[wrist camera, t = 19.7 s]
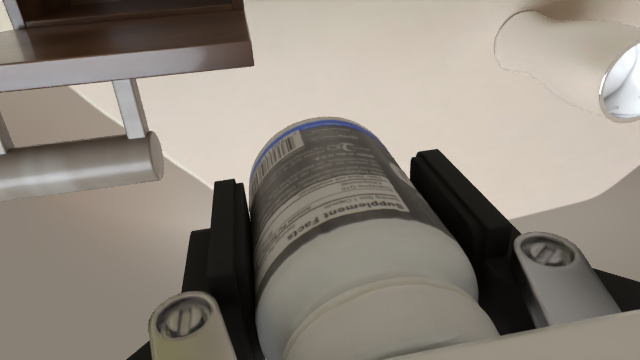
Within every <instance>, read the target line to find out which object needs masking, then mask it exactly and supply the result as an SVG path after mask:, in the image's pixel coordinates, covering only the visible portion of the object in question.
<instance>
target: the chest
mask: <svg viewBox="0 0 640 360" xmlns="http://www.w3.org/2000/svg"><path fill="white" fill-rule="evenodd" d="M3 3H4V5H5V8H6V10H7V13H8V15H9V18H10V20H11V23H12V25H13V28H14V30H18V29H29V28H41V27H52V26H64V25H75V24H87V23H98V22H109V21H121V20H132V19H144V18H155V17H166V16H178V15H189V14H201V13H212V12H223V11H235V10H244V3H243V0H3Z"/></svg>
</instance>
